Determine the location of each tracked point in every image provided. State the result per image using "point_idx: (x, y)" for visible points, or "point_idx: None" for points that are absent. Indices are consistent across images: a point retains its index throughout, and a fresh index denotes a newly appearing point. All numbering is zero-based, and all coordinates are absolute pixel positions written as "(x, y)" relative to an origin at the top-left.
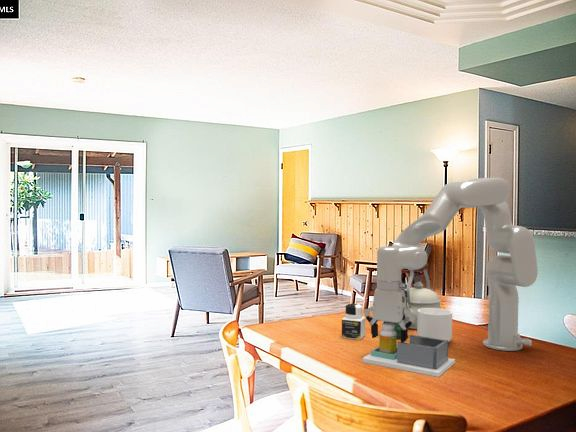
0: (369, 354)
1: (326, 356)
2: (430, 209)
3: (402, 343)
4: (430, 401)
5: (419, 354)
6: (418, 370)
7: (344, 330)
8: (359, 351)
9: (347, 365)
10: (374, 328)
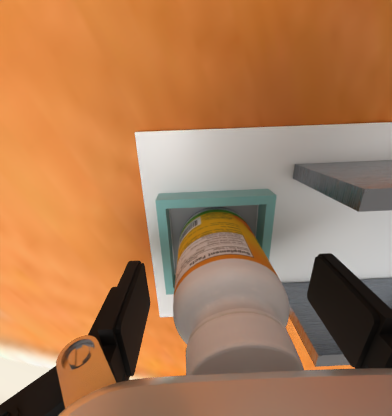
0: (156, 273)
1: (42, 321)
2: None
3: (340, 363)
4: None
5: None
6: None
7: None
8: (75, 213)
9: (146, 346)
10: (136, 356)
